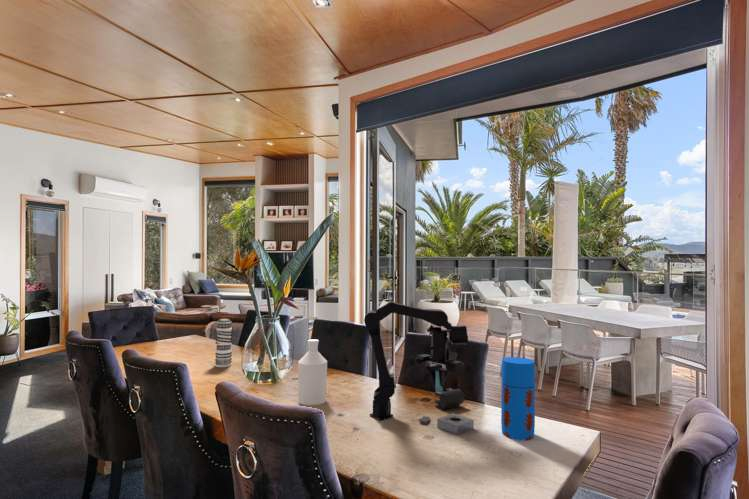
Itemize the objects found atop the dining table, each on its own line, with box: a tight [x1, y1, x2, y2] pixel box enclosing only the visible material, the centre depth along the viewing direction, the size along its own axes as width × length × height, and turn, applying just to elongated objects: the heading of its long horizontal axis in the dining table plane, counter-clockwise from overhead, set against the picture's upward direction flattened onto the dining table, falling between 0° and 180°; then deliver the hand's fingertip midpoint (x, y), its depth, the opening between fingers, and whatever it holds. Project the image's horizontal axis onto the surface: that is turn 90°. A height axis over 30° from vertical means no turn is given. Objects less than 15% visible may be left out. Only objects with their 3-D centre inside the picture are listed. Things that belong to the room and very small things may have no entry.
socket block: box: [436, 413, 475, 436], centre depth 159 cm, size 9×9×3 cm
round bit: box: [434, 370, 444, 391], centre depth 169 cm, size 3×3×7 cm
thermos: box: [500, 356, 536, 441], centre depth 154 cm, size 11×11×25 cm
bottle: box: [297, 338, 328, 406], centre depth 187 cm, size 12×12×25 cm
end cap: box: [434, 387, 465, 411], centre depth 181 cm, size 10×7×7 cm
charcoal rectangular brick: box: [419, 415, 431, 425], centre depth 165 cm, size 5×2×2 cm, turn 159°
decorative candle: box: [214, 318, 234, 368], centre depth 247 cm, size 9×9×25 cm
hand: (438, 385), depth 169 cm, fingers closed on round bit, 3 cm apart
